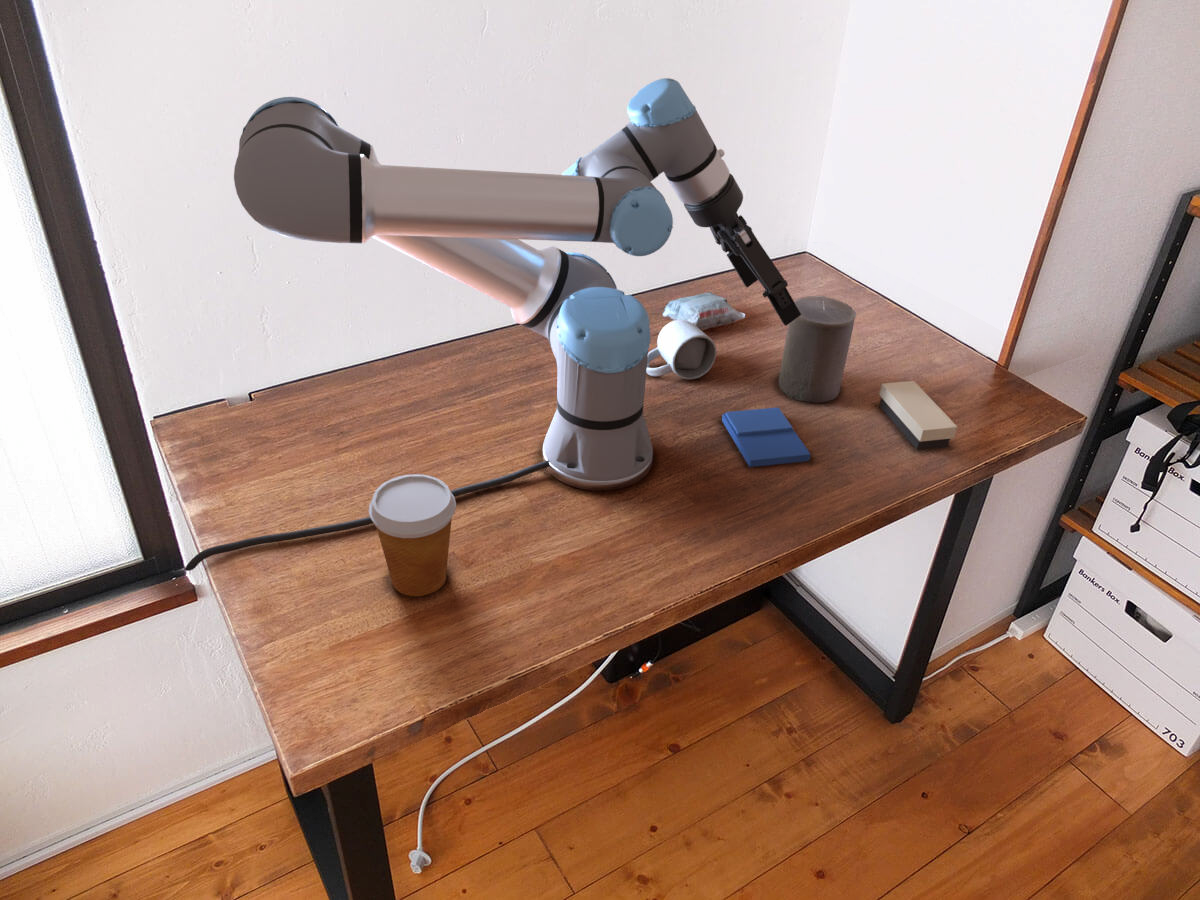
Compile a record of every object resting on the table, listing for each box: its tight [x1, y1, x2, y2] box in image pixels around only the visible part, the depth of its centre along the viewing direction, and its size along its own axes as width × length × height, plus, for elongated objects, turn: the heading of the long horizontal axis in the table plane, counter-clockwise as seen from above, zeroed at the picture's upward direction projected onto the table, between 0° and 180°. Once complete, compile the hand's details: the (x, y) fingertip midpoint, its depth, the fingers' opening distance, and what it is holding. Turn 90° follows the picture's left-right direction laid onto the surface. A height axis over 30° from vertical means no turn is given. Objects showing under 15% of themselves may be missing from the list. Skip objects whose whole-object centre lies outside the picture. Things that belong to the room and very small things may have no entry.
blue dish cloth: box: [721, 406, 812, 468], centre depth 138 cm, size 9×12×2 cm
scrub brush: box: [878, 380, 958, 451], centre depth 142 cm, size 6×13×4 cm, turn 13°
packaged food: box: [662, 291, 746, 331], centre depth 166 cm, size 9×12×5 cm
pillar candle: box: [777, 295, 857, 404], centre depth 147 cm, size 10×10×15 cm
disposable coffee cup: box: [368, 473, 457, 597], centre depth 108 cm, size 10×10×12 cm
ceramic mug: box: [646, 319, 717, 380], centre depth 152 cm, size 11×8×8 cm
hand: (772, 299), depth 141 cm, fingers open, 13 cm apart
